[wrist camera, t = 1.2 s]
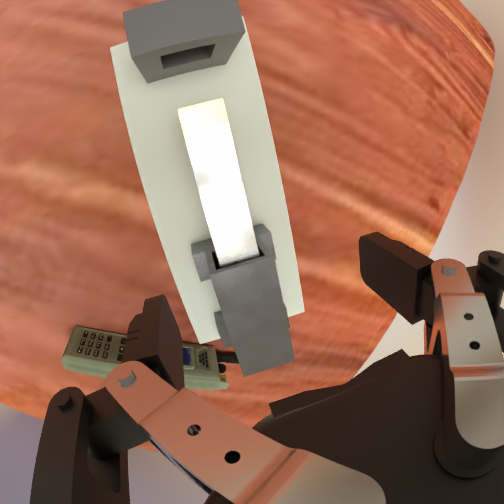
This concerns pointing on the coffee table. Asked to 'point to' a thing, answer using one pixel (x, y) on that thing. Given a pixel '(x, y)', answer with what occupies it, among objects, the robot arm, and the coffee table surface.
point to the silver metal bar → (219, 181)
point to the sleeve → (249, 304)
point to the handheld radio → (111, 352)
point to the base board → (182, 176)
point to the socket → (182, 36)
